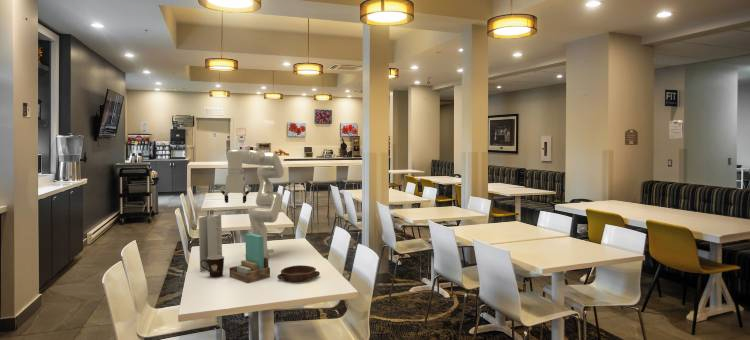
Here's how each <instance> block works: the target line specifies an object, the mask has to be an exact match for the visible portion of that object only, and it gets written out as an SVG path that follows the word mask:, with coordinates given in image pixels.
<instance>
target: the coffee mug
mask: <svg viewBox="0 0 750 340" xmlns="http://www.w3.org/2000/svg"><path fill="white" fill-rule="evenodd" d="M207 260H208V261H207ZM207 260H202V261H201V263H202V262H203V261H206V262H207V263H208V267H209V270H208V268H207V269H206V268H205V267H203V266H202V264H201V263H200V262H199V266H200V265H201V266H202V267H203V268H204V269H205V270H206V271H207V272H208V273H209V278H220V277H223V274H224V262H225V256H224V255H222V256H210V257H208V258H207Z"/></svg>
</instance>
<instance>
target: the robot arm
mask: <svg viewBox="0 0 750 340" xmlns="http://www.w3.org/2000/svg"><path fill="white" fill-rule="evenodd" d="M226 160H227V174H226V178H225V184H224V185H222V186H221V187H219V191H220V193H221V194H222V195H223V196H224V202H225V204H228V203H229V193H241V194H242V203H243V204H245V203H246V202H247V196H248V195H249V193H250V192H251V190H252V187H250V186H249V185H247V184H246V180H245V174H243V173H245V172H246V171H245V169H243V165H255V166H256V165H257V166H258V168H257V171H256V174H257V177H258V181H259V189H258V191H257V194H256V198H255V204H256V206H253V207H252V208H250V210H249V211H248V218H249V223H250V233H252V234H256V235H261V236H263V242H264V257H267V258H268V259H269V258H270V257H271V255H270V253H274V249H273V248H272V249H268V228H267V226H266V225H265V223H268V224H269V223H270V224H271V223H272V224H273V223H276V221H277V219H278V217H279V215H280V214H279V213H280V211H281V210H280V209H281V206H282V203H283V200H282V199H283V197H282V195H281V193H280V192H278V191H274V184H273V183H272V181H271V180H270V179H281V178H283V176H284V174H285V173H284V172H285V171H284V166H283V164H282V161H281V160H280V157H279V155H278V154H277V153H276V152H274V151H260V150H250V149H244V148H243V149H237V148H235V149H229V150H228V151H227V152H226ZM224 189H225V190H224ZM246 190H247V191H246Z"/></svg>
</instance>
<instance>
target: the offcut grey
mask: <svg viewBox="0 0 750 340" xmlns="http://www.w3.org/2000/svg"><path fill="white" fill-rule="evenodd" d="M236 266H237V273H239V274H243V275H246V273H247V272H251V268H247V267H244V266H239V265H236Z"/></svg>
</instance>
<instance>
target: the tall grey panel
mask: <svg viewBox="0 0 750 340" xmlns="http://www.w3.org/2000/svg"><path fill="white" fill-rule="evenodd" d="M222 230H223V229H222V214H217V215H214V213H212V214H207V215H204V216H201V217H198V243H199V250H198V251H199V272H200V273H201V272H202V271H205V270H206V269H208V270H209V267H208V263H207V262H206V261H203V262H202V263H201V261H202V260H207V258H208V257H210V256H223V238H222V237H223V236H222V235H223V234H222V233H223V232H222ZM207 261H208V260H207ZM200 263H201V264H202V266H203V267H205V268H206V269H204V268H203V267H202V266H201V265H200ZM208 270H207V271H208Z"/></svg>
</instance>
